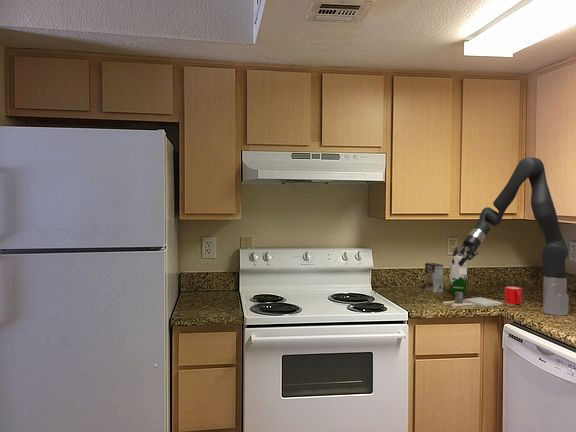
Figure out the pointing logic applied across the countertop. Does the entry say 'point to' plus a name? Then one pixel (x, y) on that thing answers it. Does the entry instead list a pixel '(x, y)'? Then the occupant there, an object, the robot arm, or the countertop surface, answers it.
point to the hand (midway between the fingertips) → (456, 264)
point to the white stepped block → (458, 266)
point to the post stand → (459, 302)
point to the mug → (513, 295)
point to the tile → (482, 301)
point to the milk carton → (457, 282)
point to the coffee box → (434, 277)
